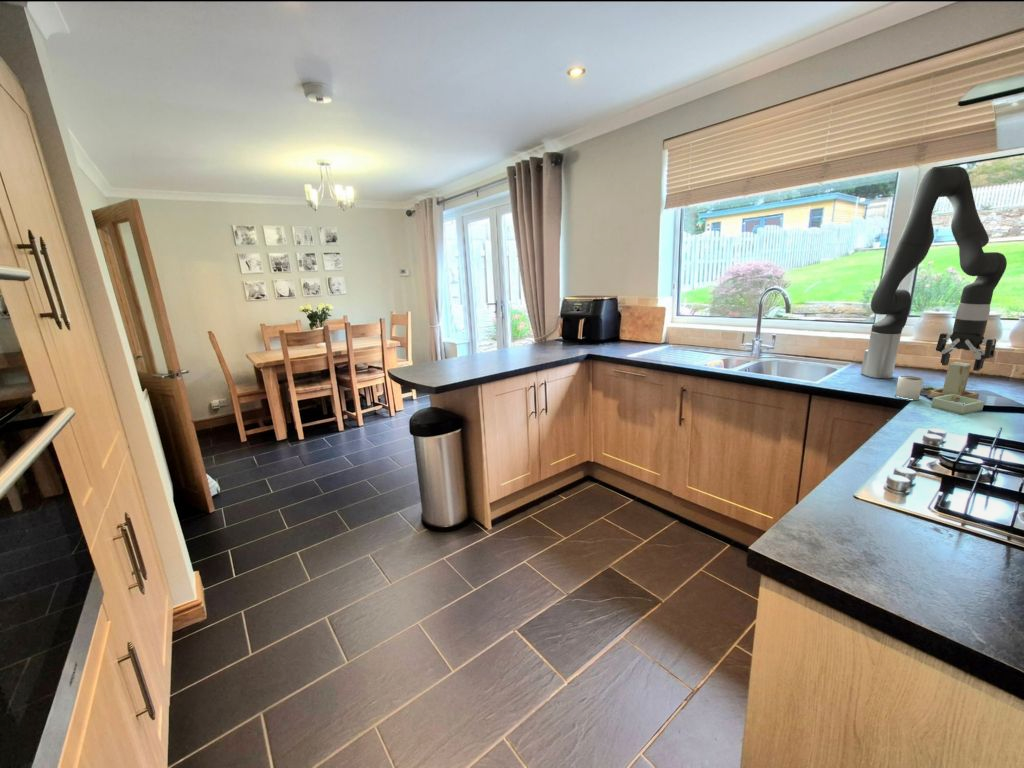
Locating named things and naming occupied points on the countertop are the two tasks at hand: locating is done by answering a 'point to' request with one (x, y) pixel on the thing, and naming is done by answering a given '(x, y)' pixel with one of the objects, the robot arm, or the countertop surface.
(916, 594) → the countertop surface
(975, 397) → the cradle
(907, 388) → the cup
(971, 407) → the trough
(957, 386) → the skincare box
